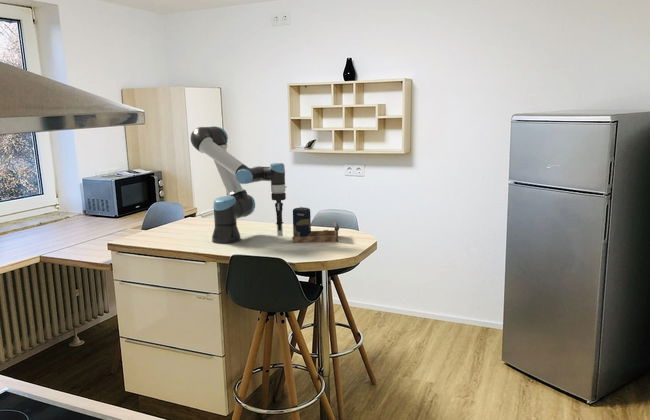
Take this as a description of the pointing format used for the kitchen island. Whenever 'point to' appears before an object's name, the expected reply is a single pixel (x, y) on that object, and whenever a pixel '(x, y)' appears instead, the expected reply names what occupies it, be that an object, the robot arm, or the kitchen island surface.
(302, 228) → the canister
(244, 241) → the kitchen island surface
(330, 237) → the bay
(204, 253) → the kitchen island surface
